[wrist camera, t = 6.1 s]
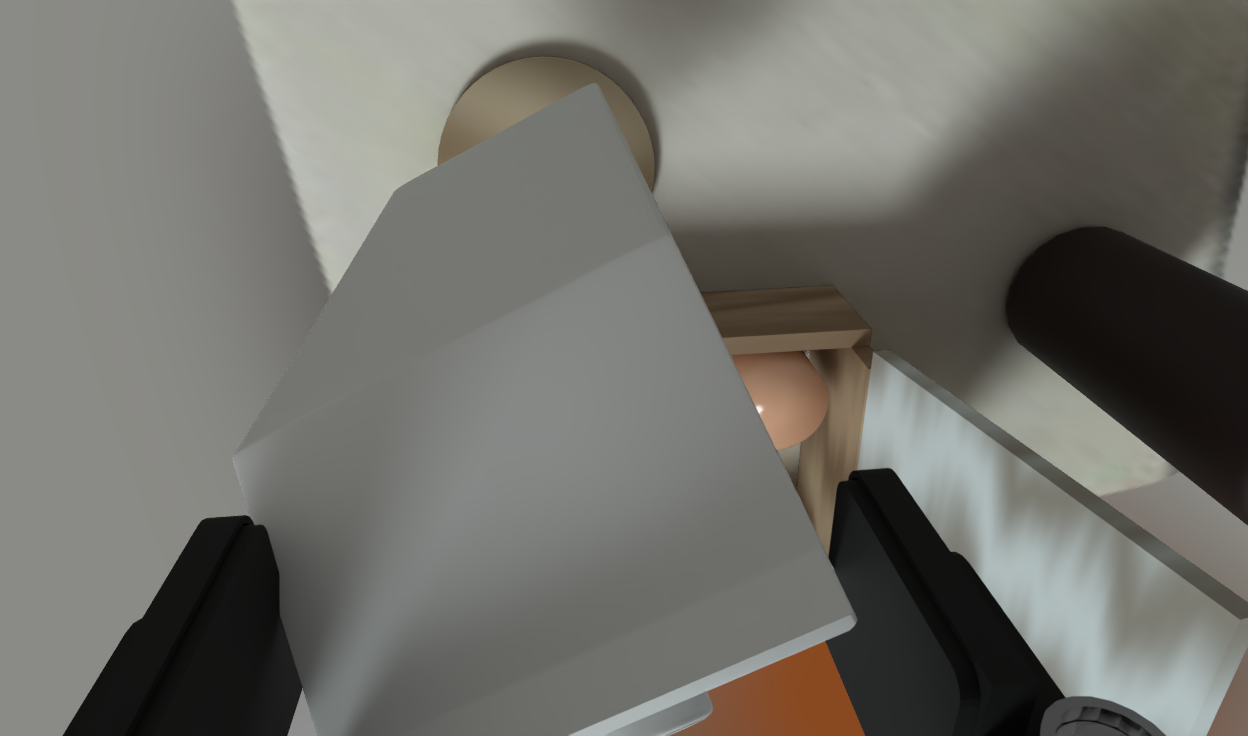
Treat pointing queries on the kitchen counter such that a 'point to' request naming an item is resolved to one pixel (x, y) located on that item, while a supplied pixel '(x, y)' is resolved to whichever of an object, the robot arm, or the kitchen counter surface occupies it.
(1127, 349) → the bottle
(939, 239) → the kitchen counter surface
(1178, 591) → the box
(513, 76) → the coaster
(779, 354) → the tan rounded ovoid
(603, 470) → the milk carton
